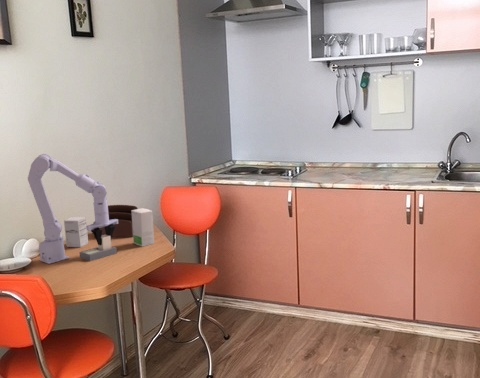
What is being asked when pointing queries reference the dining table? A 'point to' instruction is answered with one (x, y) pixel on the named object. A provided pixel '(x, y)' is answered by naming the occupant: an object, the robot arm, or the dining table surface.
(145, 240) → the skincare box
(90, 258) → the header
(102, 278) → the dining table surface
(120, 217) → the letter holder
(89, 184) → the robot arm
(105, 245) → the plug
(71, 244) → the supplement box
